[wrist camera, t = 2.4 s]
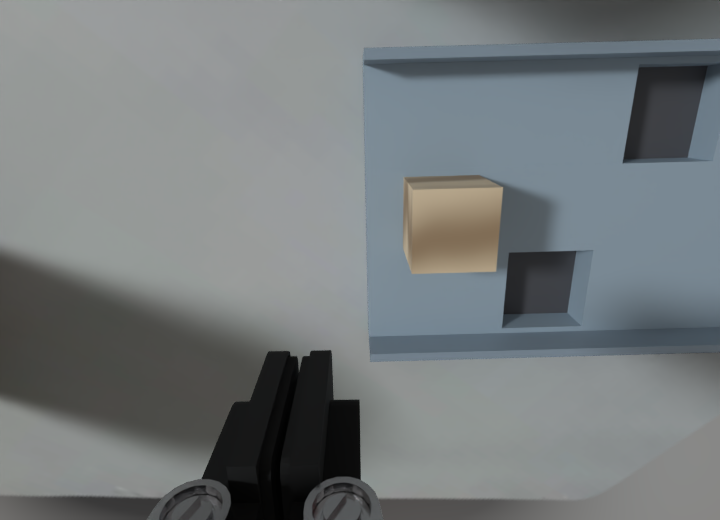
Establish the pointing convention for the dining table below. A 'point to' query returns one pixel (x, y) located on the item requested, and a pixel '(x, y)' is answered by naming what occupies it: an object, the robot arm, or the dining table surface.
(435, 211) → the oak block
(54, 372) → the dining table surface
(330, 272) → the dining table surface
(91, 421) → the dining table surface
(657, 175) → the trap board
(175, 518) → the robot arm
